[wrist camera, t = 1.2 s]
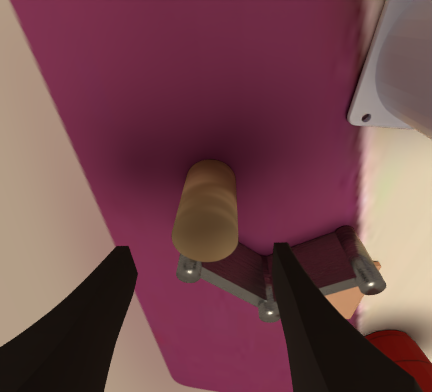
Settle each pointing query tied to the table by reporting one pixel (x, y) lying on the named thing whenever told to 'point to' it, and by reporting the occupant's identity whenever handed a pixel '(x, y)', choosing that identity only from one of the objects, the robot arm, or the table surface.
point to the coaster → (347, 299)
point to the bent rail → (309, 259)
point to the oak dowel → (207, 213)
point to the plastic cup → (404, 355)
